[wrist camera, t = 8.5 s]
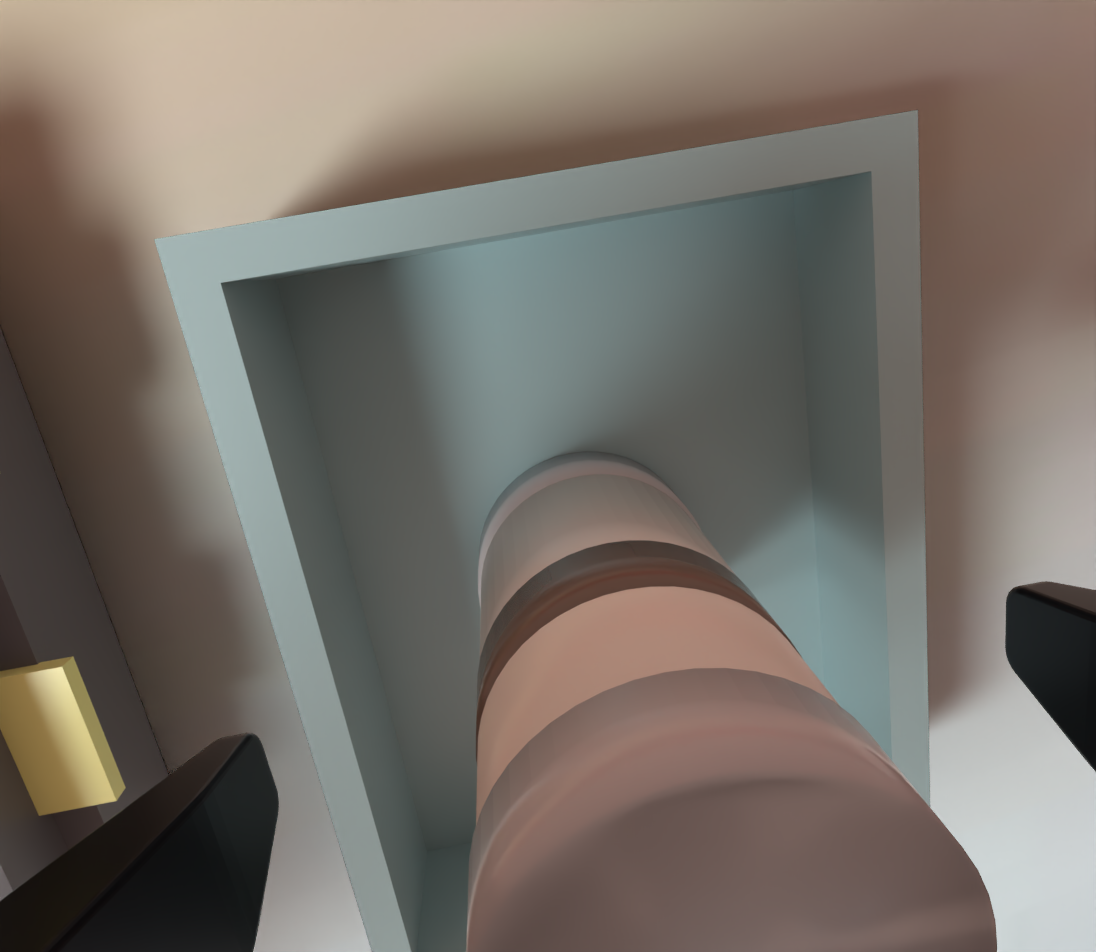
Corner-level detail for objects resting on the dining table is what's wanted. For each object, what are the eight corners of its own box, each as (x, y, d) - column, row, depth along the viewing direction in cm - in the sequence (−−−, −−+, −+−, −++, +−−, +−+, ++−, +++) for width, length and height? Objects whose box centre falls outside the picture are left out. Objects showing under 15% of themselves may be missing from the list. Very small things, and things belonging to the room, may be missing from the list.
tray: (846, 770, 15) (931, 889, 12) (406, 857, 15) (386, 1000, 12) (812, 148, 12) (918, 109, 9) (237, 245, 11) (153, 239, 9)
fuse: (701, 629, 13) (992, 1131, 6) (500, 667, 13) (517, 1230, 6) (678, 433, 12) (1001, 719, 5) (459, 472, 12) (409, 836, 4)
